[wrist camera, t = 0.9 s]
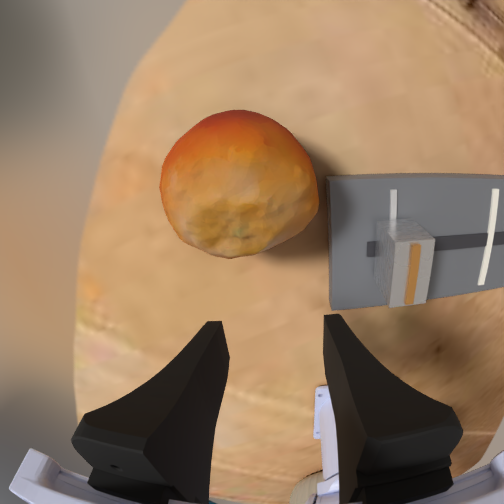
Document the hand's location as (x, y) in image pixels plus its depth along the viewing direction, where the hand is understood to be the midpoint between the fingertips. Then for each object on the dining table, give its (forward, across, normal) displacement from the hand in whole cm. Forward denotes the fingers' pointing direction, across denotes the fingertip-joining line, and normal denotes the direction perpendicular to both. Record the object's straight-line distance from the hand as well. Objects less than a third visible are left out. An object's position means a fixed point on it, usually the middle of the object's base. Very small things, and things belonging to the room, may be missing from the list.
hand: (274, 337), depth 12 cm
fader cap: (+8, -8, 0) cm, 11 cm away
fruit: (+10, +2, -5) cm, 11 cm away
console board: (+9, -12, 0) cm, 15 cm away
